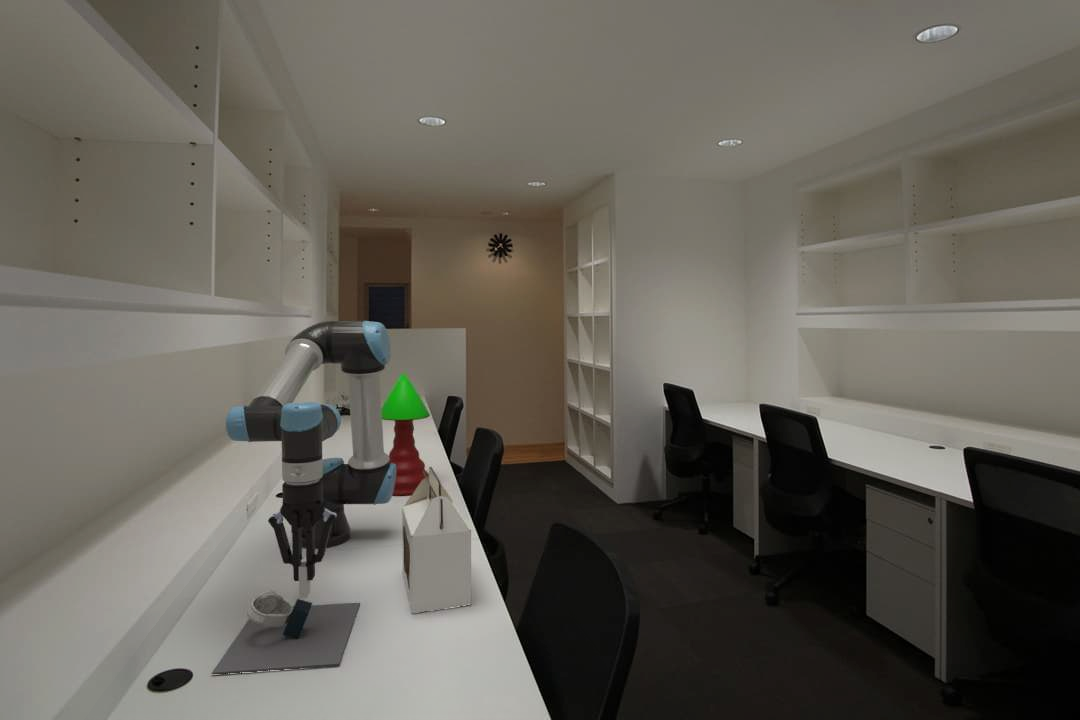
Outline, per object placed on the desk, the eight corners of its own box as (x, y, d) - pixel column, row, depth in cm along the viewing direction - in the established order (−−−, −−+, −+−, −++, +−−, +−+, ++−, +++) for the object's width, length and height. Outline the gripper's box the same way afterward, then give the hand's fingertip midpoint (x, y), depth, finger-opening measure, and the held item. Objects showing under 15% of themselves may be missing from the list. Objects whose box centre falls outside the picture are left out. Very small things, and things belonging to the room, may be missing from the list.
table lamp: (373, 485, 230) (372, 370, 227) (423, 479, 238) (423, 369, 235) (382, 498, 212) (381, 375, 209) (436, 492, 220) (436, 373, 217)
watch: (313, 598, 122) (260, 583, 120) (307, 617, 115) (250, 601, 112) (303, 623, 122) (250, 609, 120) (296, 644, 114) (239, 629, 112)
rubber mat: (256, 611, 128) (256, 608, 128) (360, 605, 132) (360, 602, 132) (211, 676, 105) (211, 672, 105) (339, 666, 108) (339, 663, 108)
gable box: (402, 573, 148) (401, 465, 147) (454, 567, 153) (454, 461, 151) (411, 615, 127) (410, 488, 126) (471, 606, 131) (471, 484, 130)
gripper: (262, 486, 112) (264, 606, 113) (333, 484, 114) (334, 602, 115) (273, 476, 119) (276, 589, 121) (340, 474, 121) (341, 585, 123)
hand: (304, 595), depth 118 cm, fingers closed
